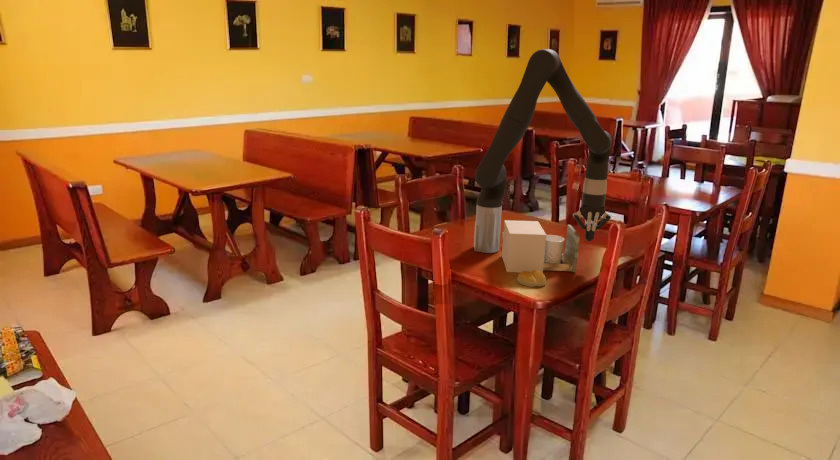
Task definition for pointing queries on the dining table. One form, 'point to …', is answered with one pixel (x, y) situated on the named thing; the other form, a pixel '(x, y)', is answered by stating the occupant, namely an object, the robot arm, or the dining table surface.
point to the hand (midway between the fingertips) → (588, 240)
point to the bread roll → (531, 278)
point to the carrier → (567, 253)
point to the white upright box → (523, 246)
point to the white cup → (553, 249)
